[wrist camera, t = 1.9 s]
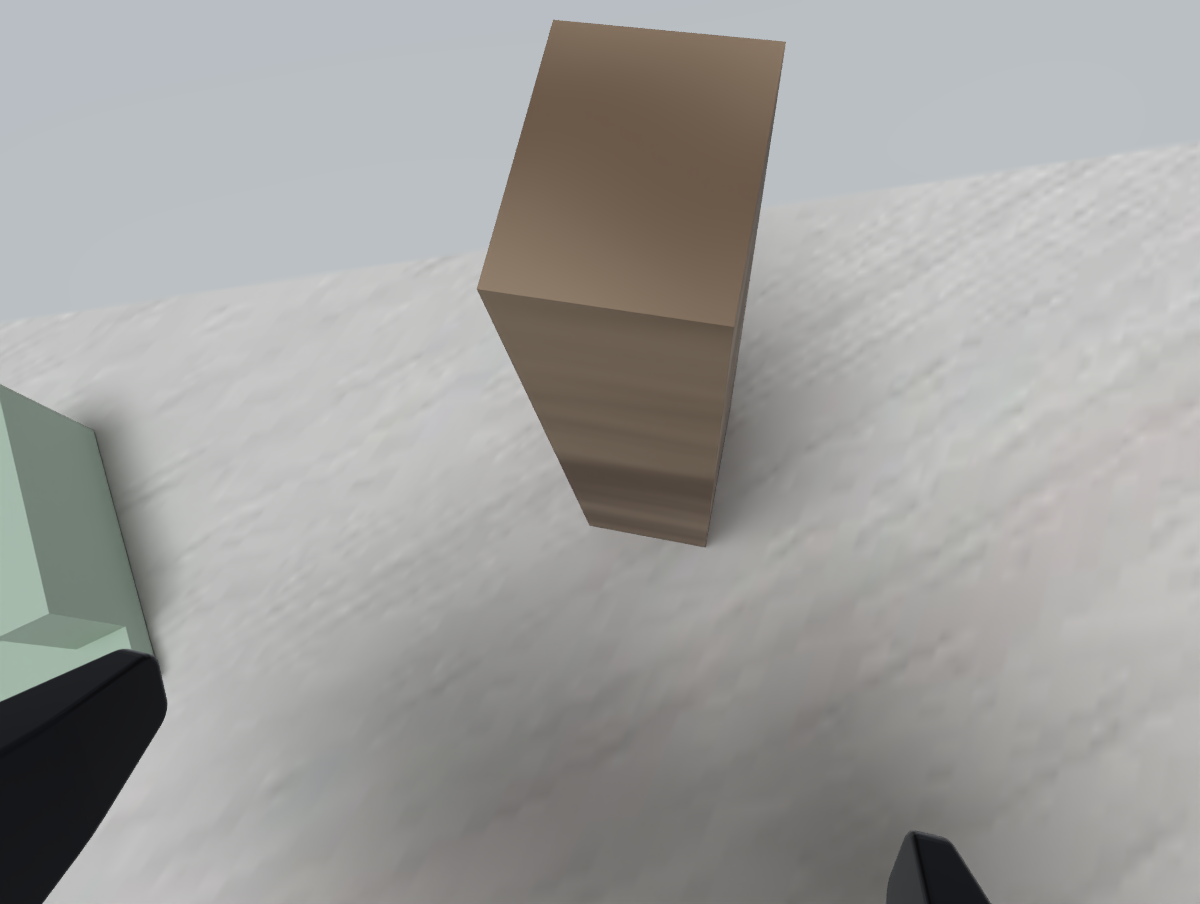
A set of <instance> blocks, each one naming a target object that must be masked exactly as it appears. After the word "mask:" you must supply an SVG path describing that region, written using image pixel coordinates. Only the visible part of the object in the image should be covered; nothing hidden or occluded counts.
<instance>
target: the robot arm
mask: <svg viewBox="0 0 1200 904" xmlns="http://www.w3.org/2000/svg"><path fill="white" fill-rule="evenodd" d="M166 711H167V698H166V693H165V689H164V685H163V680H162V676H161V671H160V667H159V663H158V660H157V659H156V658H155V657H154V656H153V655H151V654H149V653H144V652H140V651H136V650H131V649H119V650H116V651H113V652H111V653H109V654H106V655H104V656H102V657H100V658H97V659H95V660H93V661H91V662H88V663H86V664H84V665H82V666H79V667H77V668H75V669H73V670H70V671H68V672H66V673H64V674H61V675H59V676H57V677H55V678H52V679H50V680H48V681H46V682H43V683H41V684H39V685H37V686H34V687H32V688H30V689H27V690H25V691H23V692H21V693H18V694H16V695H14V696H12V697H9V698H7V699H5V700H3V701H0V904H42V903H43V902H44V901H45V899H46V898H47V897H48V895H49V894H50V893H51V891H52V890H53V889H54V887H55V886H56V885H57V883H58V882H59V881H60V879H61V878H62V877H63V875H64V874H65V873H66V871H67V870H68V869H69V867H70V866H71V865H72V863H73V862H74V861H75V859H76V858H77V857H78V855H79V854H80V852H81V851H82V850H83V848H84V847H85V845H86V844H87V843H88V841H89V840H90V838H91V837H92V836H93V834H94V832H95V831H96V829H97V828H98V826H99V825H100V823H101V822H102V820H103V819H104V817H105V816H106V814H107V812H108V811H109V809H110V807H111V806H112V804H113V803H114V801H115V799H116V798H117V796H118V794H119V793H120V791H121V790H122V788H123V786H124V785H125V783H126V781H127V780H128V778H129V777H130V775H131V773H132V772H133V770H134V768H135V767H136V765H137V764H138V762H139V760H140V759H141V757H142V755H143V754H144V752H145V750H146V749H147V747H148V746H149V744H150V742H151V741H152V739H153V737H154V736H155V734H156V733H157V731H158V729H159V728H160V726H161V724H162V722H163V720H164V718H165V715H166ZM886 904H991V903H990V901H989V900H988V898H987V897H986V895H985V893H984V892H983V890H982V889H981V887H980V886H979V884H978V883H977V881H976V879H975V878H974V876H973V875H972V873H971V872H970V870H969V868H968V867H967V865H966V864H965V862H964V861H963V859H962V858H961V856H960V854H959V853H958V851H957V850H956V848H955V847H954V845H953V844H952V843H951V842H950V841H949V840H948V839H946V838H944V837H940V836H936V835H932V834H928V833H923V832H919V831H910V832H909V833H908V834H907V835H906V836H905V838H904V841H903V843H902V846H901V849H900V851H899V854H898V856H897V859H896V862H895V864H894V867H893V869H892V872H891V875H890V878H889V882H888V887H887V898H886Z"/></svg>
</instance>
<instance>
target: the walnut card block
mask: <svg viewBox="0 0 1200 904" xmlns="http://www.w3.org/2000/svg"><path fill="white" fill-rule="evenodd" d="M785 43H786V42H782V41H771V40H760V39H750V38H738V37H728V36H718V35H708V34H697V33H686V32H675V31H665V30H655V29H654V30H653V29H643V28H633V27H623V26H612V25H602V24H591V23H580V22H570V21H559V20H553V23H552V26H551V30H550V33H549V37H548V40H547V44H546V47H545V51H544V54H543V58H542V61H541V65H540V68H539V72H538V75H537V79H536V83H535V86H534V90H533V93H532V97H531V101H530V104H529V107H528V111H527V114H526V118H525V121H524V125H523V128H522V132H521V136H520V139H519V143H518V146H517V149H516V153H515V157H514V160H513V164H512V167H511V171H510V174H509V178H508V181H507V185H506V188H505V192H504V195H503V199H502V203H501V206H500V209H499V213H498V217H497V220H496V224H495V227H494V231H493V234H492V238H491V241H490V245H489V248H488V252H487V255H486V259H485V262H484V266H483V269H482V273H481V276H480V280H479V284H478V287H477V290H478V292H479V294H480V296H481V299H482V301H483V303H484V305H485V307H486V309H487V311H488V313H489V315H490V317H491V320H492V322H493V324H494V326H495V328H496V330H497V332H498V334H499V336H500V338H501V341H502V343H503V345H504V347H505V349H506V351H507V353H508V355H509V357H510V359H511V362H512V364H513V366H514V368H515V370H516V372H517V374H518V376H519V378H520V380H521V382H522V385H523V387H524V389H525V391H526V393H527V395H528V397H529V399H530V401H531V403H532V406H533V408H534V410H535V412H536V414H537V416H538V418H539V420H540V422H541V424H542V427H543V429H544V431H545V433H546V435H547V437H548V439H549V441H550V443H551V445H552V448H553V450H554V452H555V454H556V456H557V458H558V460H559V462H560V464H561V466H562V469H563V471H564V473H565V475H566V477H567V479H568V481H569V483H570V485H571V487H572V489H573V492H574V494H575V496H576V498H577V500H578V502H579V504H580V506H581V508H582V510H583V513H584V515H585V517H586V519H587V521H588V523H589V525H590V526H595V527H601V528H606V529H611V530H616V531H622V532H627V533H632V534H638V535H643V536H648V537H653V538H659V539H664V540H669V541H675V542H680V543H685V544H691V545H696V546H701V547H705V546H706V541H707V535H708V529H709V524H710V518H711V513H712V507H713V501H714V496H715V490H716V484H717V479H718V473H719V468H720V462H721V456H722V451H723V445H724V439H725V434H726V428H727V422H728V417H729V411H730V406H731V400H732V393H733V386H734V380H735V373H736V367H737V360H738V353H739V347H740V340H741V334H742V327H743V320H744V314H745V307H746V301H747V294H748V287H749V281H750V274H751V268H752V261H753V255H754V248H755V241H756V235H757V228H758V222H759V215H760V208H761V202H762V195H763V189H764V181H765V175H766V169H767V162H768V156H769V149H770V142H771V136H772V129H773V123H774V116H775V109H776V103H777V96H778V90H779V83H780V76H781V70H782V63H783V56H784V50H785Z"/></svg>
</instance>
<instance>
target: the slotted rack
mask: <svg viewBox="0 0 1200 904" xmlns="http://www.w3.org/2000/svg"><path fill="white" fill-rule="evenodd" d="M119 649H131V650H136V651H140V652H144V653H149V654H151V655H153V656H154V654H153V650H152V647H151V643H150V639H149V635H148V632H147V628H146V624H145V621H144V617H143V613H142V609H141V606H140V602H139V598H138V594H137V591H136V587H135V583H134V580H133V576H132V572H131V568H130V565H129V561H128V557H127V553H126V550H125V546H124V542H123V539H122V535H121V531H120V527H119V524H118V520H117V516H116V513H115V509H114V505H113V501H112V498H111V494H110V490H109V486H108V483H107V479H106V475H105V472H104V468H103V464H102V460H101V457H100V453H99V449H98V446H97V442H96V438H95V434H94V431H93V430H92V429H90V428H88V427H86V426H84V425H82V424H80V423H78V422H76V421H74V420H72V419H69V418H67V417H65V416H63V415H61V414H59V413H57V412H55V411H53V410H51V409H49V408H47V407H45V406H43V405H41V404H39V403H37V402H35V401H33V400H31V399H29V398H27V397H25V396H23V395H21V394H19V393H17V392H15V391H13V390H11V389H9V388H7V387H5V386H3V385H1V384H0V701H3V700H5V699H7V698H9V697H12V696H14V695H16V694H18V693H21V692H23V691H25V690H27V689H30V688H32V687H34V686H37V685H39V684H41V683H43V682H46V681H48V680H50V679H52V678H55V677H57V676H59V675H61V674H64V673H66V672H68V671H70V670H73V669H75V668H77V667H79V666H82V665H84V664H86V663H88V662H91V661H93V660H95V659H97V658H100V657H102V656H104V655H106V654H109V653H111V652H113V651H116V650H119Z"/></svg>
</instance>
